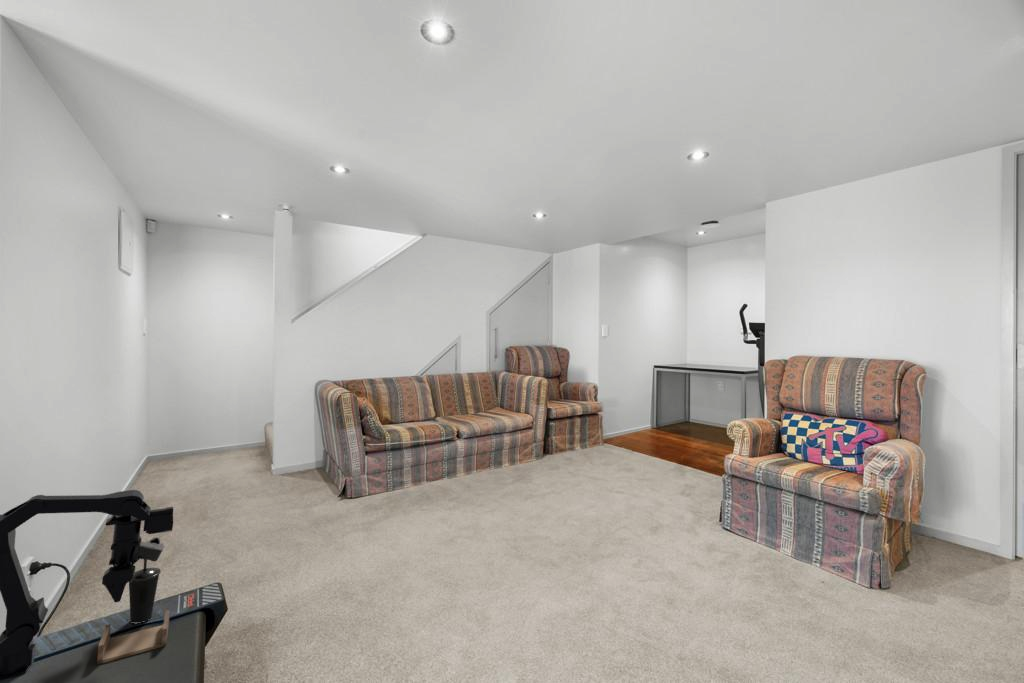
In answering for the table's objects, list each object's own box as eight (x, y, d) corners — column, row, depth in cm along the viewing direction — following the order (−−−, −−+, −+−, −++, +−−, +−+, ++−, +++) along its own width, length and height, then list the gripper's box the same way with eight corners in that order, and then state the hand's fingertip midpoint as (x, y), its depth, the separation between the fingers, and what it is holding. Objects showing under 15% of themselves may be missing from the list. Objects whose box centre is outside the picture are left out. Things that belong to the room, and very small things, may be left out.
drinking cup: (164, 613, 134) (168, 548, 134) (140, 628, 126) (145, 559, 127) (141, 610, 135) (146, 546, 135) (117, 625, 127) (122, 557, 128)
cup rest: (96, 664, 112) (98, 645, 112) (104, 642, 120) (105, 625, 120) (165, 645, 120) (167, 628, 120) (168, 626, 128) (169, 609, 128)
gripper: (159, 544, 119) (153, 602, 118) (165, 521, 134) (160, 572, 133) (104, 552, 112) (98, 614, 112) (117, 527, 128) (112, 581, 127)
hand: (120, 593), depth 121 cm, fingers open, 9 cm apart
